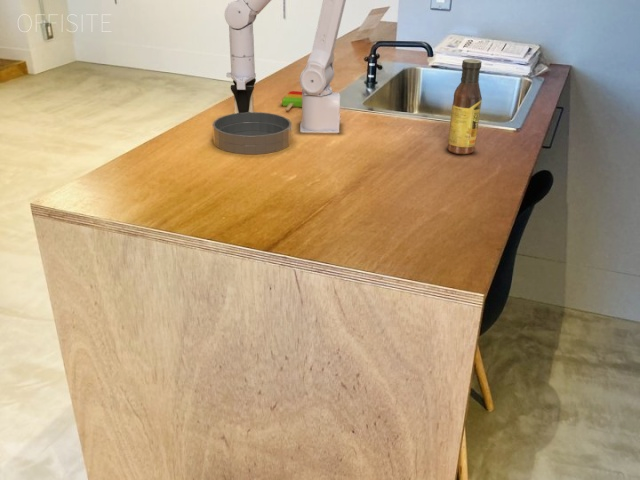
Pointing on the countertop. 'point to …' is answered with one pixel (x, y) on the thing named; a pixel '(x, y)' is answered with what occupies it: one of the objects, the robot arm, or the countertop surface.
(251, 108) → the cream block
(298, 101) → the popsicle
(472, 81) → the sauce bottle
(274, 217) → the countertop surface
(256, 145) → the steel cake pan
